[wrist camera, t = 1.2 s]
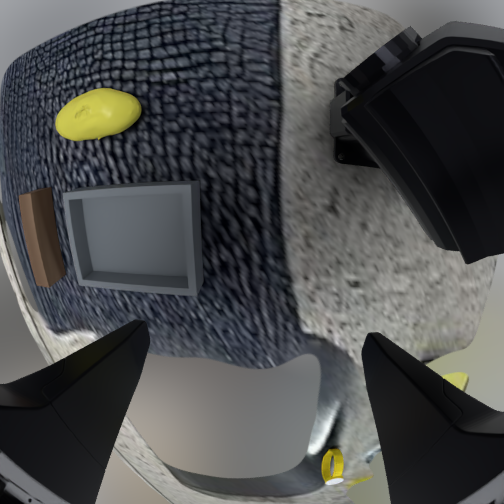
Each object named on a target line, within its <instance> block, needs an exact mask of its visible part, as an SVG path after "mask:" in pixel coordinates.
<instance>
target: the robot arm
mask: <svg viewBox="0 0 504 504" xmlns="http://www.w3.org/2000/svg"><path fill="white" fill-rule="evenodd" d="M340 85H341V86H342V87H341V86H340ZM330 134H331V135H332V136H333V137H334V160H335V161H336V162H337V163H341V164H350V165H359V166H367V167H375V168H381V169H382V171H383V172H384V173H385V175H386V176H387V177H388V179H389V180H390V181H391V183H392V184H393V185H394V187H395V188H396V189H397V191H398V192H399V194H400V195H401V197H402V198H403V199H404V201H405V202H406V204H407V205H408V207H409V208H410V210H411V211H412V213H413V214H414V216H415V217H416V219H417V220H418V222H419V224H420V225H421V227H422V228H423V230H424V231H425V233H426V234H427V235H428V236H429V238H430V239H431V240H433V241H434V243H435V244H436V246H437V247H440V248H442V249H445V250H450V251H460V253H461V255H462V257H463V259H464V261H465V263H466V264H471V263H473V262H476V261H478V260H480V259H483V258H485V257H488V256H493V255H498V254H503V253H504V29H501V28H496V27H491V26H486V25H480V24H473V23H466V22H457V21H454V22H449V23H447V24H445V25H443V26H442V27H440V28H439V29H437V30H435V31H434V32H432V33H431V34H429V35H427V36H426V37H424V38H423V39H422V38H421V37H420V36H419V35H418V34H417V32H416V31H415V30H414V29H413V28H412V27H411V26H410V27H408V28H407V29H405V30H404V31H402V32H401V33H400V34H398V35H397V36H395V37H394V38H393V39H391V40H390V41H389V42H387V43H386V44H385V45H383V46H382V47H381V48H380V49H378V50H377V51H376V52H375V53H373V54H372V55H371V56H369V57H368V58H367V59H366V60H365V61H363V62H362V63H361V64H360V65H358V66H357V67H356V68H355V69H354V70H352V71H351V72H350V73H349V74H348V75H346V76H345V77H344V78H339V79H337V80H336V82H335V98H334V99H333V100H332V101H331V102H330ZM340 153H341V154H343V159H342V160H340V159H339V158H338V155H339V154H340ZM149 345H150V336H149V331H148V327H147V323H146V322H145V321H143V320H133V321H131V322H130V323H128V324H126V325H124V326H122V327H120V328H119V329H117V330H115V331H113V332H111V333H109V334H108V335H106V336H104V337H102V338H100V339H98V340H96V341H95V342H93V343H91V344H89V345H87V346H85V347H84V348H82V349H80V350H78V351H76V352H74V353H72V354H71V355H69V356H67V357H65V358H63V359H61V360H59V361H58V362H56V363H54V364H52V365H50V366H48V367H46V368H44V369H41V370H39V371H37V372H35V373H32V374H30V375H28V376H25V377H23V378H20V379H18V380H16V381H13V382H10V383H7V384H0V504H95V502H96V499H97V495H98V492H99V489H100V486H101V483H102V479H103V476H104V473H105V469H106V467H107V464H108V461H109V458H110V455H111V452H112V450H113V447H114V444H115V441H116V438H117V436H118V433H119V430H120V428H121V425H122V422H123V420H124V417H125V415H126V412H127V409H128V407H129V404H130V402H131V399H132V396H133V394H134V392H135V389H136V387H137V384H138V382H139V379H140V376H141V373H142V370H143V366H144V362H145V359H146V356H147V352H148V349H149ZM361 355H362V361H363V368H364V374H365V381H366V387H367V392H368V396H369V400H370V404H371V408H372V412H373V416H374V420H375V424H376V428H377V432H378V437H379V441H380V446H381V451H382V455H383V460H384V465H385V471H386V476H387V481H388V486H389V487H388V488H389V494H390V501H391V504H504V412H500V411H497V410H494V409H492V408H490V407H489V406H487V405H485V404H483V403H482V402H480V401H478V400H477V399H475V398H473V397H471V396H470V395H468V394H466V393H465V392H463V391H462V390H460V389H458V388H457V387H456V386H454V385H453V384H451V383H450V382H448V381H447V380H446V379H443V377H441V376H440V375H439V374H437V373H436V372H434V371H433V370H431V369H430V368H429V367H427V366H426V365H424V364H423V363H422V362H420V361H419V360H417V359H416V358H415V357H413V356H412V355H410V354H409V353H408V352H406V351H405V350H403V349H402V348H400V347H399V346H398V345H396V344H395V343H393V342H392V341H391V340H389V339H388V338H386V337H385V336H383V335H382V334H381V333H379V332H370V333H368V334H367V336H366V339H365V342H364V345H363V348H362V353H361Z"/></svg>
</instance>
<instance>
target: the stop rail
mask: <svg viewBox="0 0 504 504" xmlns="http://www.w3.org/2000/svg"><path fill="white" fill-rule="evenodd" d="M19 202H20V210H21V217H22V223H23V229H24V234H25V239H26V244H27V249H28V253H29V257H30V261H31V265H32V269H33V273H34V276H35V280H36V283H37V285H38V286H43V287H51V286H52V285H53V284H54V283H56V282H57V281H58V280H59V279H61V278H62V277H63V276H64V275H66V272H65V268H64V264H63V259H62V255H61V250H60V245H59V240H58V234H57V229H56V222H55V216H54V208H53V200H52V190H51V187H49V188H42V189H37V190H34V191H31V192H28V193H25V194H22V195H19Z"/></svg>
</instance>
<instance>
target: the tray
mask: <svg viewBox="0 0 504 504" xmlns="http://www.w3.org/2000/svg"><path fill="white" fill-rule="evenodd" d="M63 200H64V208H65V216H66V223H67V229H68V235H69V241H70V246H71V251H72V256H73V261H74V266H75V270H76V274H77V278H78V282H79V285H82V286H90V287H99V288H107V289H117V290H127V291H137V292H148V293H160V294H172V295H186V296H197V295H198V293H199V291H200V289H201V286H202V284H203V282H204V277H203V260H202V240H201V214H200V180H199V181H164V182H143V183H128V184H114V185H102V186H92V187H82V188H77V189H74V190H71V191H68V192H65V193H63Z"/></svg>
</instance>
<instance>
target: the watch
mask: <svg viewBox="0 0 504 504" xmlns="http://www.w3.org/2000/svg"><path fill="white" fill-rule="evenodd" d="M332 456H334V472H333V475H332V476H331V473H330V461H331V457H332ZM343 465H344V462H343V456H342V453H341V451H340V450H339V449H329V450H328V452H327V453H326V454H325V455H324V456H323V460H322V476H323V479H324V481H325V484H328V485H332V484H337V483H340V482H342V481H343V476H342V472H343Z"/></svg>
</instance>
